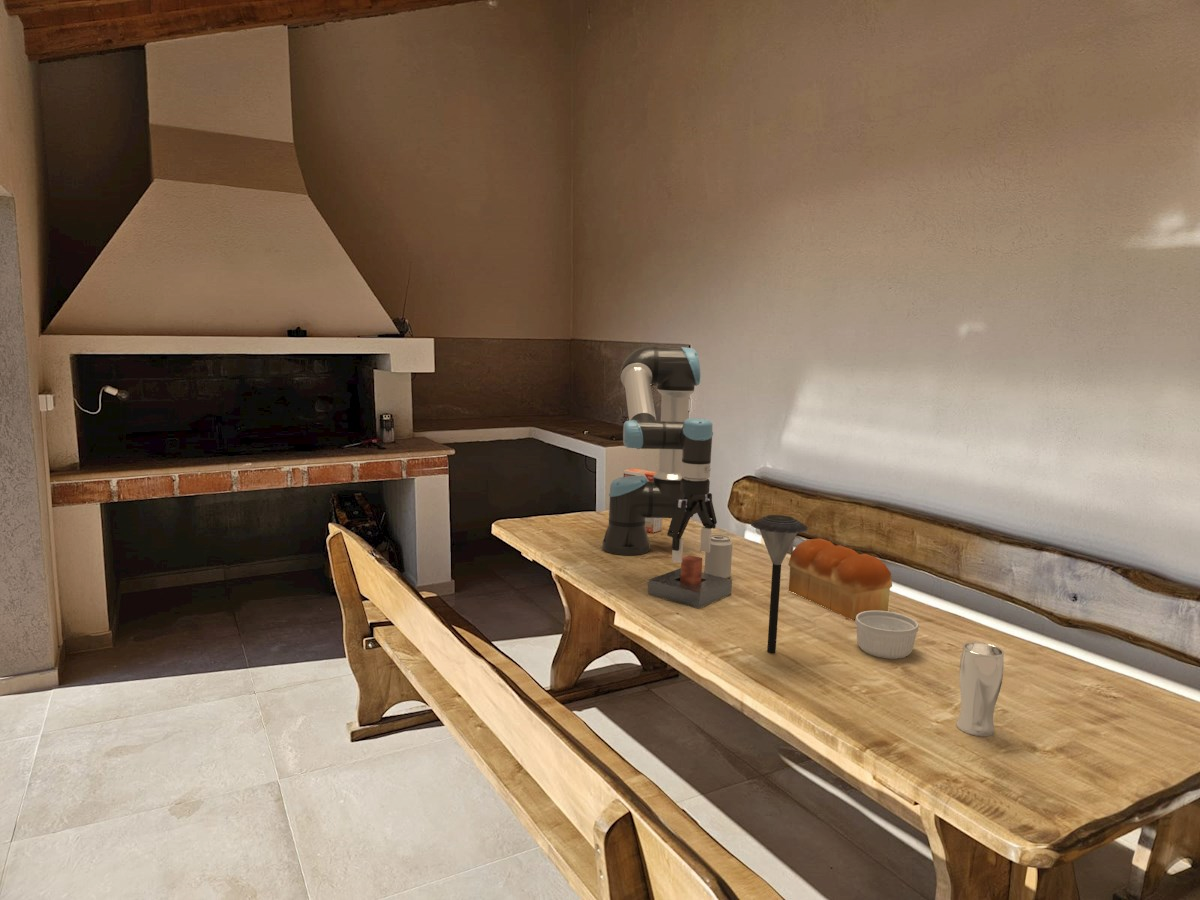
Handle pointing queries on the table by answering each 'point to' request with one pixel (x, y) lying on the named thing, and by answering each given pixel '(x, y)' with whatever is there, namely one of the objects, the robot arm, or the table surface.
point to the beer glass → (979, 687)
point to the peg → (691, 569)
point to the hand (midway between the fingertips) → (691, 556)
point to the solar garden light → (777, 559)
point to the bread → (839, 578)
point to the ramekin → (886, 633)
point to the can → (719, 556)
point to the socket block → (689, 589)
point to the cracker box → (650, 523)
